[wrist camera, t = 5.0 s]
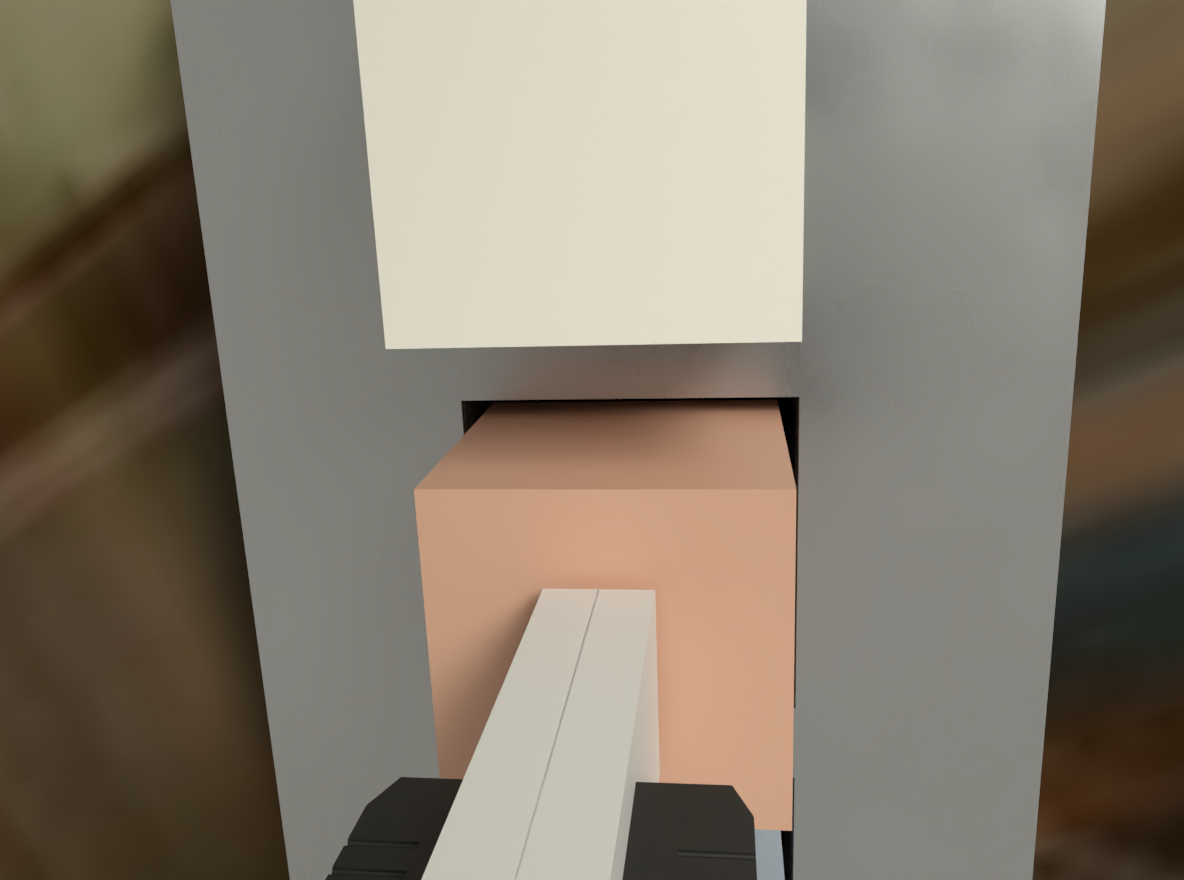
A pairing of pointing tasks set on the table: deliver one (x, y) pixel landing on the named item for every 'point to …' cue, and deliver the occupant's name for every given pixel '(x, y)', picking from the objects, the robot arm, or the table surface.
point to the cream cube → (585, 170)
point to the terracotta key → (625, 570)
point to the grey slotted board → (709, 370)
